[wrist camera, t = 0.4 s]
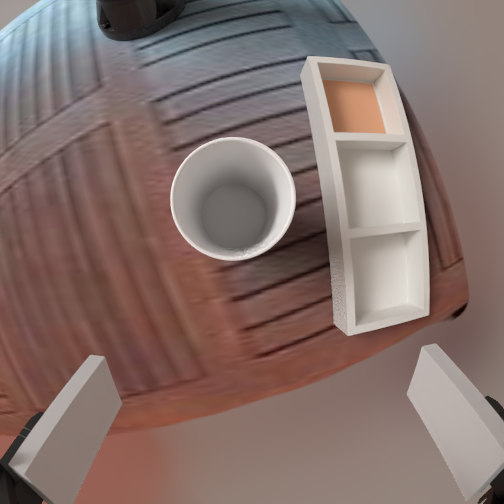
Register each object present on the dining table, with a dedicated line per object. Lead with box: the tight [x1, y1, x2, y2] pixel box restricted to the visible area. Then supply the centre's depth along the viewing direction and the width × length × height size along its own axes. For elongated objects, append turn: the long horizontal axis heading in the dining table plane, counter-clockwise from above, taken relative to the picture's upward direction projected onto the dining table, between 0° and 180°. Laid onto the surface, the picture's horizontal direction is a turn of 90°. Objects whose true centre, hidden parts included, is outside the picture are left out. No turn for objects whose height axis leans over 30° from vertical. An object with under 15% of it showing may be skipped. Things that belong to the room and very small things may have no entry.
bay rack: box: [300, 56, 430, 336], centre depth 32 cm, size 34×12×5 cm, turn 7°
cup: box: [170, 137, 296, 261], centre depth 26 cm, size 8×8×16 cm
